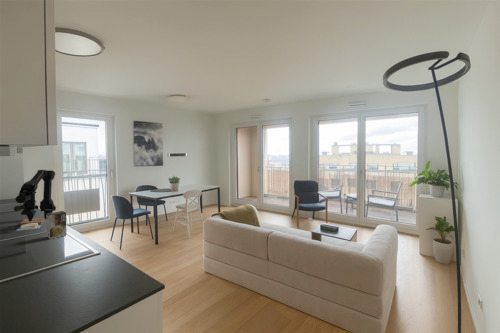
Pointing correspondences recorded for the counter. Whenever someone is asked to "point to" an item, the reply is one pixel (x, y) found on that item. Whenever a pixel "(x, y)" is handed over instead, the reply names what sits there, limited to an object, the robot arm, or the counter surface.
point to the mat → (29, 228)
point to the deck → (33, 221)
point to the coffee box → (56, 224)
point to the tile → (29, 225)
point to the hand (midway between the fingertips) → (30, 221)
